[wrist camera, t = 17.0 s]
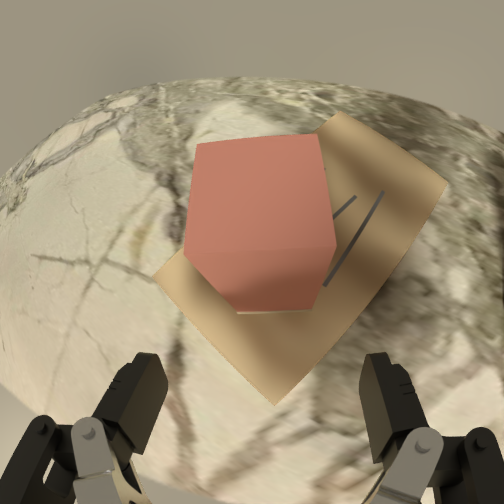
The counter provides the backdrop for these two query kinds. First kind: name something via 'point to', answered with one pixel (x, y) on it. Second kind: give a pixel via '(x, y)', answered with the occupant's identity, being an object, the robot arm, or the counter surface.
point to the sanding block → (261, 221)
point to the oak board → (340, 269)
